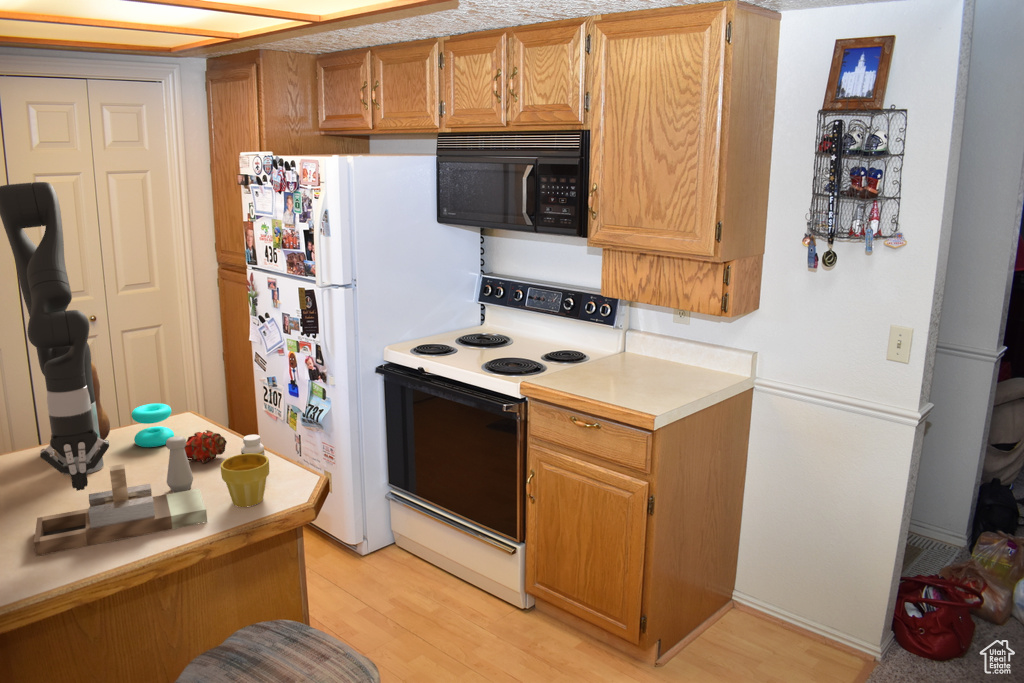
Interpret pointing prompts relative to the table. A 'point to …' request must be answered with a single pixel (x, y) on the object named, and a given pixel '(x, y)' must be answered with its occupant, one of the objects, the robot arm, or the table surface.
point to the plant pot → (245, 478)
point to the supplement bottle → (252, 445)
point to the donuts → (148, 416)
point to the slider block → (119, 484)
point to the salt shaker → (178, 465)
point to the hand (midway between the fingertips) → (80, 488)
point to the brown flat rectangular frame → (77, 530)
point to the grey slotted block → (121, 507)
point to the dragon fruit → (204, 446)
